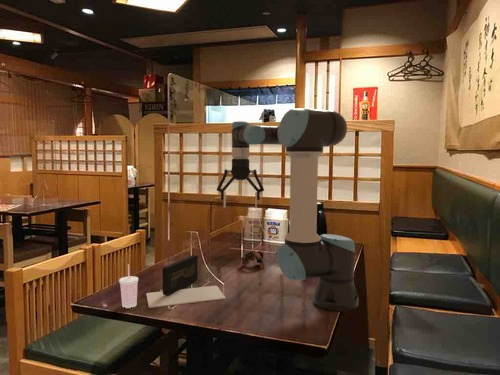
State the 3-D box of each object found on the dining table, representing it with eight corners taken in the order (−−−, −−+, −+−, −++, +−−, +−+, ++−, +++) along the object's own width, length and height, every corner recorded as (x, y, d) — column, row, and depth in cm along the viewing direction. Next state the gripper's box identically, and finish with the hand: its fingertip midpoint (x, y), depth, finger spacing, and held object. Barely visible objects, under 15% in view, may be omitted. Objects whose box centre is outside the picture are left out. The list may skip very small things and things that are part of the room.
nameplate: (167, 296, 139) (166, 268, 138) (162, 295, 139) (162, 267, 139) (197, 279, 158) (197, 254, 157) (193, 279, 159) (193, 254, 158)
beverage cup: (119, 309, 128) (118, 267, 127) (120, 302, 134) (119, 262, 133) (139, 307, 130) (138, 266, 129) (138, 300, 136) (137, 261, 135)
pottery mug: (260, 272, 169) (250, 256, 169) (244, 278, 175) (235, 262, 174) (272, 259, 179) (263, 243, 178) (257, 264, 184) (248, 249, 184)
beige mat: (225, 299, 138) (225, 297, 138) (148, 308, 130) (148, 307, 130) (216, 286, 150) (216, 285, 150) (146, 294, 142) (146, 293, 142)
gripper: (269, 158, 173) (268, 206, 175) (212, 157, 172) (212, 205, 175) (270, 158, 165) (269, 208, 167) (210, 158, 165) (210, 208, 167)
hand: (240, 207), depth 171 cm, fingers open, 13 cm apart
